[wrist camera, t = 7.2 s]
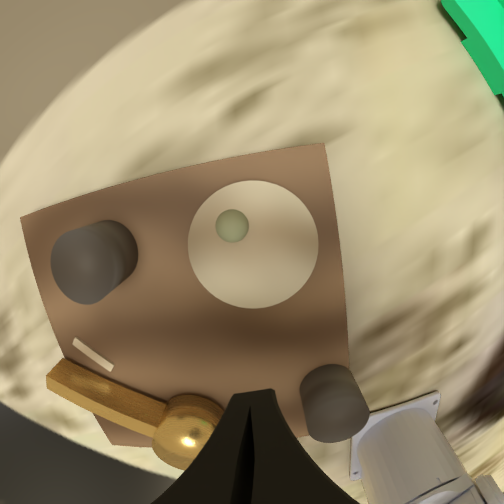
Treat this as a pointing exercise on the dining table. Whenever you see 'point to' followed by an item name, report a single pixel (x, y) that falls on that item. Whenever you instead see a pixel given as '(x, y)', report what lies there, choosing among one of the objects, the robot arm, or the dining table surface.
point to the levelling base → (207, 288)
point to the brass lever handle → (141, 412)
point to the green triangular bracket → (482, 36)
